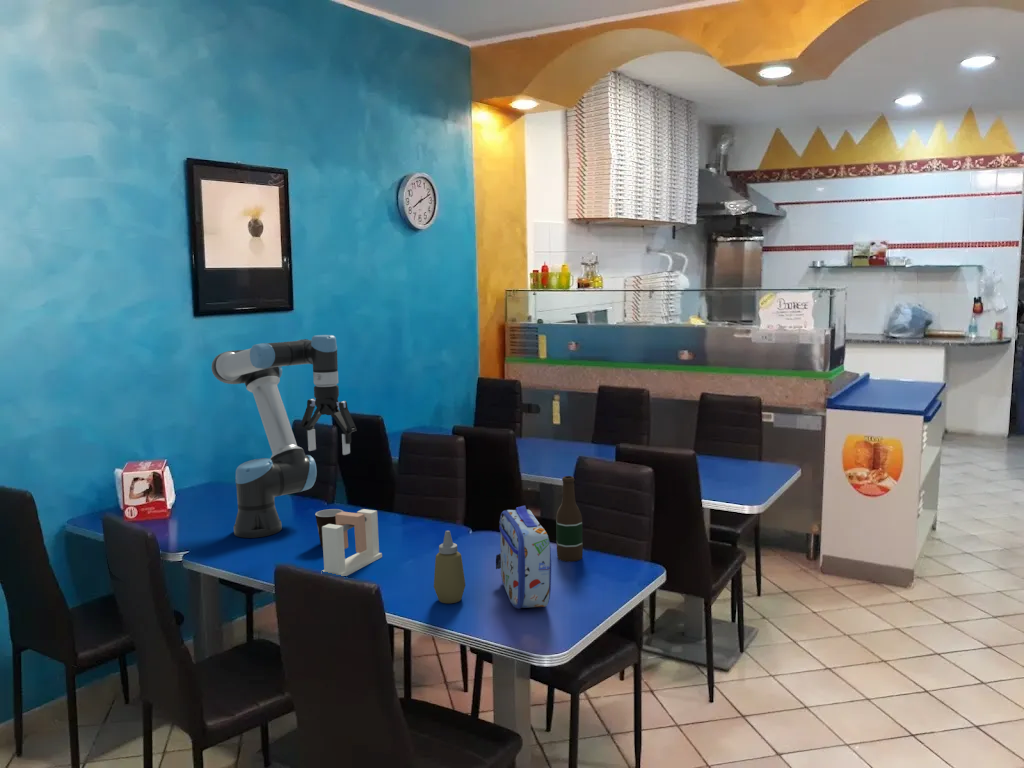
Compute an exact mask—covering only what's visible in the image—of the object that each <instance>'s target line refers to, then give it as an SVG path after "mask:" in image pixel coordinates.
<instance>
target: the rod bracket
mask: <svg viewBox="0 0 1024 768" xmlns="http://www.w3.org/2000/svg"><path fill="white" fill-rule="evenodd" d="M356 513H360V514H364V515H365V531H366V547H367V550H365V551H363V552H361V553H357V552H356V553H354V554H352V555H350V556H348V557H347V558H346V555H345V554H346V553H345V549H344V531H346V530H347V531H349V530H350V529H352V528H354V525H351V524H346V525H343V526H341V525H334V524H327V525H325V526H323V527H322V538H323V547H322V551H323V552H322V553H323V568H324V569H323V570H321V572H322V571H323V572H328V573H332V574H336V575H341V576H346V577H347V576H349V575H352V574H353V573H356V572H358V570H360V569H362V568H364V567H366V566H368V565H369V564H371V563H374V562H376V561H377V560H379V559H382V558H383V553H382V552H380V545H379V544H380V543H379V520H378V510H374V509H365V508H361V509H360V510H358V511H356Z"/></svg>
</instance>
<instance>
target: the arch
mask: <svg viewBox="0 0 1024 768" xmlns="http://www.w3.org/2000/svg"><path fill="white" fill-rule="evenodd" d="M335 517H336V525H341V526H343V525H346V524H351V525H354V527H353V528H354V540H355V541H354V542H355V552H356V553H361V552H363V551H365V550H367V547H366V531H365V515H364V514H360V513H357V512H350V511H349V512H348V511H344V512H340V513H337V514H335ZM348 535H349V534H348V530H346V531H344V550H346V549H348V548H349V538H348V537H349V536H348Z"/></svg>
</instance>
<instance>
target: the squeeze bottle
mask: <svg viewBox="0 0 1024 768" xmlns="http://www.w3.org/2000/svg"><path fill="white" fill-rule="evenodd" d="M462 557H463V556H462V553H460V552H459V551H458V544H457V543H454V542H453V538H452V534H451V530H445V532H444V536H443V542H442V543H441V544H439V545H438V553H437V554H436V555H435V557H434V558H435V560H434V561H435V562H434V577H433V578H434V579H433V588H434V589H433V590H434V591H435V594H436V598H437V599H438V601H439V602H440V603H442V604H456V603H458V602H461V600H462V598H463V595H464V592H465V588H466V578H465V573H464V565H463V558H462Z"/></svg>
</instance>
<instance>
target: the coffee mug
mask: <svg viewBox="0 0 1024 768" xmlns="http://www.w3.org/2000/svg"><path fill="white" fill-rule="evenodd" d="M340 512H345V511H344V510H342V509H339V508H329V509H323V510H319V511H316V512H314V513H315V514H314V515H315V520H316V527H317V533H318V538H319V544H320V547H322V548H323V538H322V527H323V526H325V525H327V524H334V525H336V517H335V514H337V513H340Z"/></svg>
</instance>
